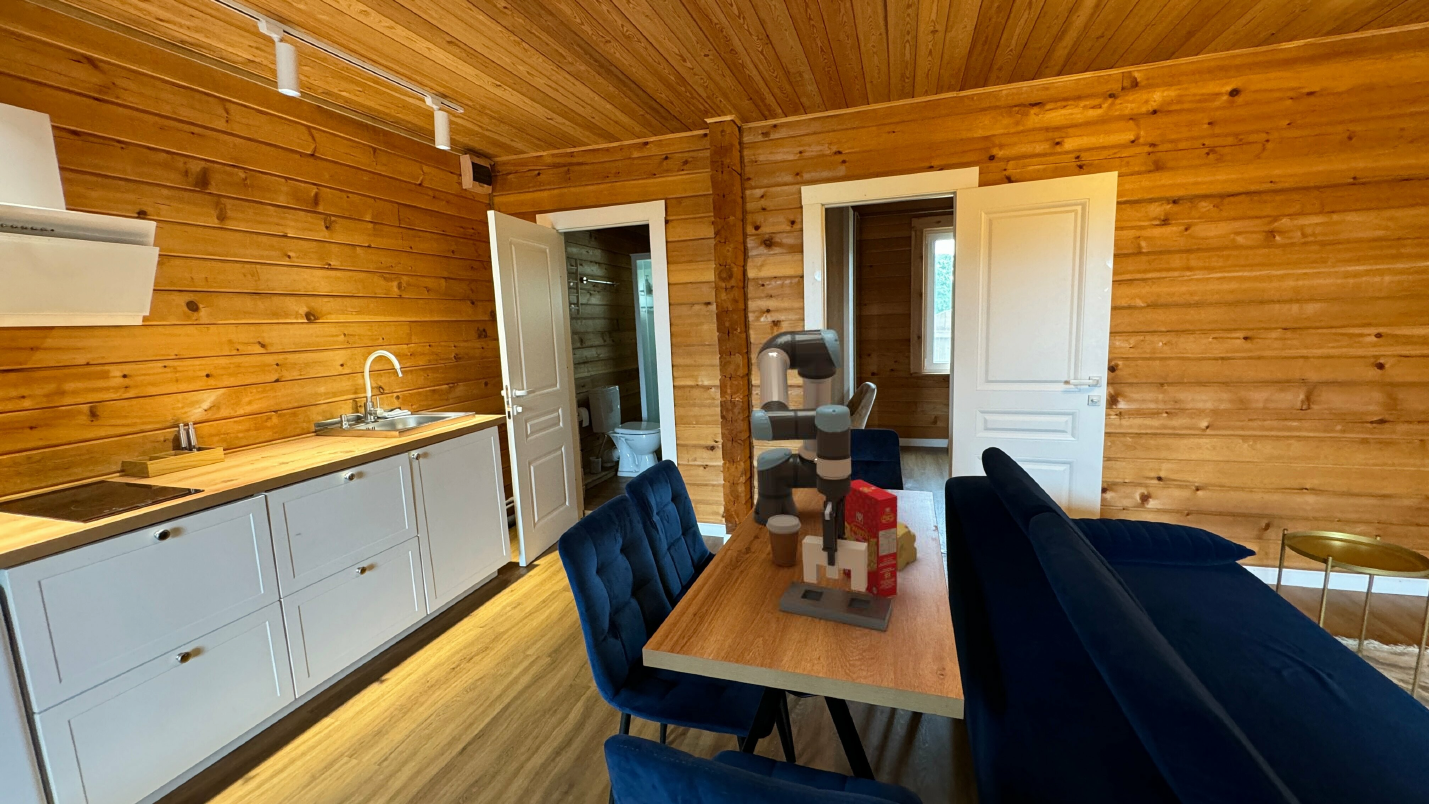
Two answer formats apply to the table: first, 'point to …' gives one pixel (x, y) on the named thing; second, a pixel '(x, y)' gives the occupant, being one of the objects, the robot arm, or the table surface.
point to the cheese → (905, 546)
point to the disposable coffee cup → (784, 538)
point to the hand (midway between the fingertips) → (835, 572)
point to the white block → (849, 558)
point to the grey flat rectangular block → (837, 605)
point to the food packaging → (874, 534)
